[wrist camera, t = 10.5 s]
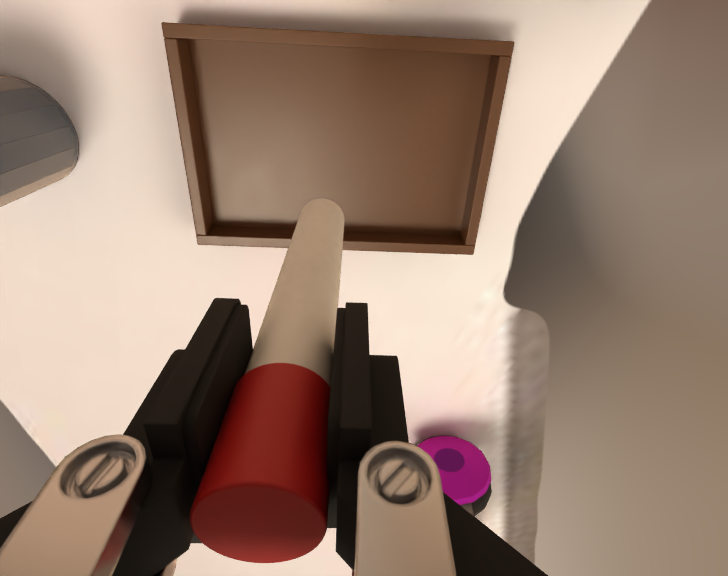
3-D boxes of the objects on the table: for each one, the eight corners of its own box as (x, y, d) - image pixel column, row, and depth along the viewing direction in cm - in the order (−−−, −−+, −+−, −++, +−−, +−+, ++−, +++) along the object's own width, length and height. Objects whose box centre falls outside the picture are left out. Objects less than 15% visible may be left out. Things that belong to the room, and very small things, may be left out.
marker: (297, 194, 18) (177, 481, 6) (347, 196, 18) (327, 485, 6) (298, 241, 19) (199, 563, 7) (346, 242, 19) (326, 565, 7)
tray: (176, 24, 28) (160, 22, 25) (502, 42, 28) (515, 41, 26) (207, 231, 35) (197, 244, 33) (465, 241, 36) (473, 255, 33)
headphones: (469, 532, 57) (518, 744, 40) (404, 535, 57) (425, 748, 40) (481, 424, 47) (555, 648, 29) (402, 429, 47) (429, 654, 29)
